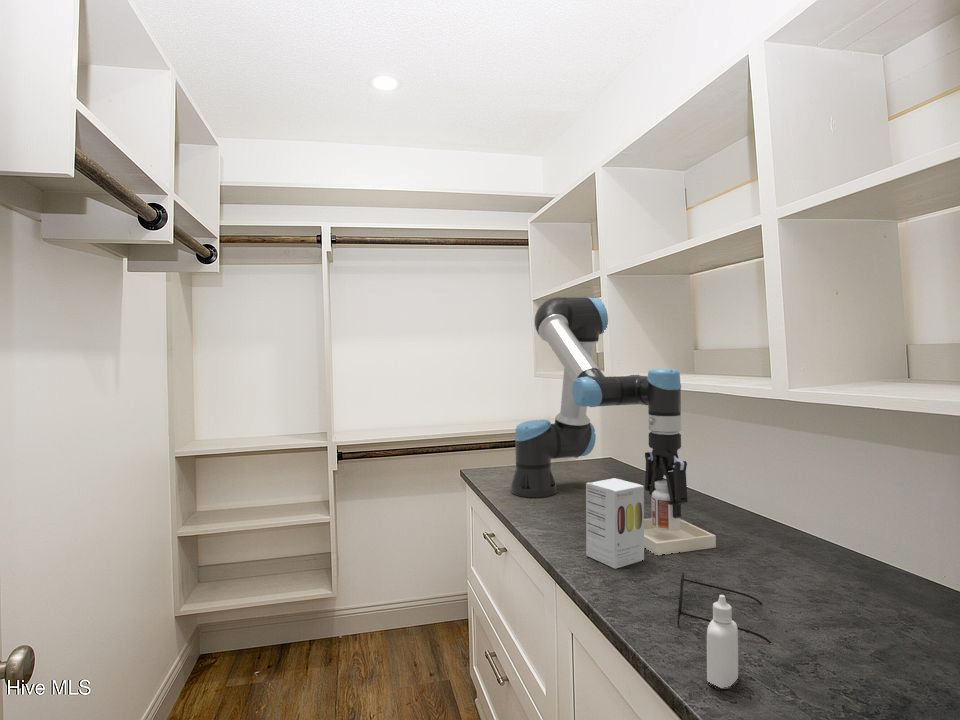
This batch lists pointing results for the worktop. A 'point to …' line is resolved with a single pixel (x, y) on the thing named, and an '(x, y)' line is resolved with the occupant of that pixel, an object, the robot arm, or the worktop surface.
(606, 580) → the worktop surface
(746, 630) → the glasses
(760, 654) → the worktop surface
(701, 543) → the tray
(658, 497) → the pill bottle
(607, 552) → the supplement box
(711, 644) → the eye dropper bottle
